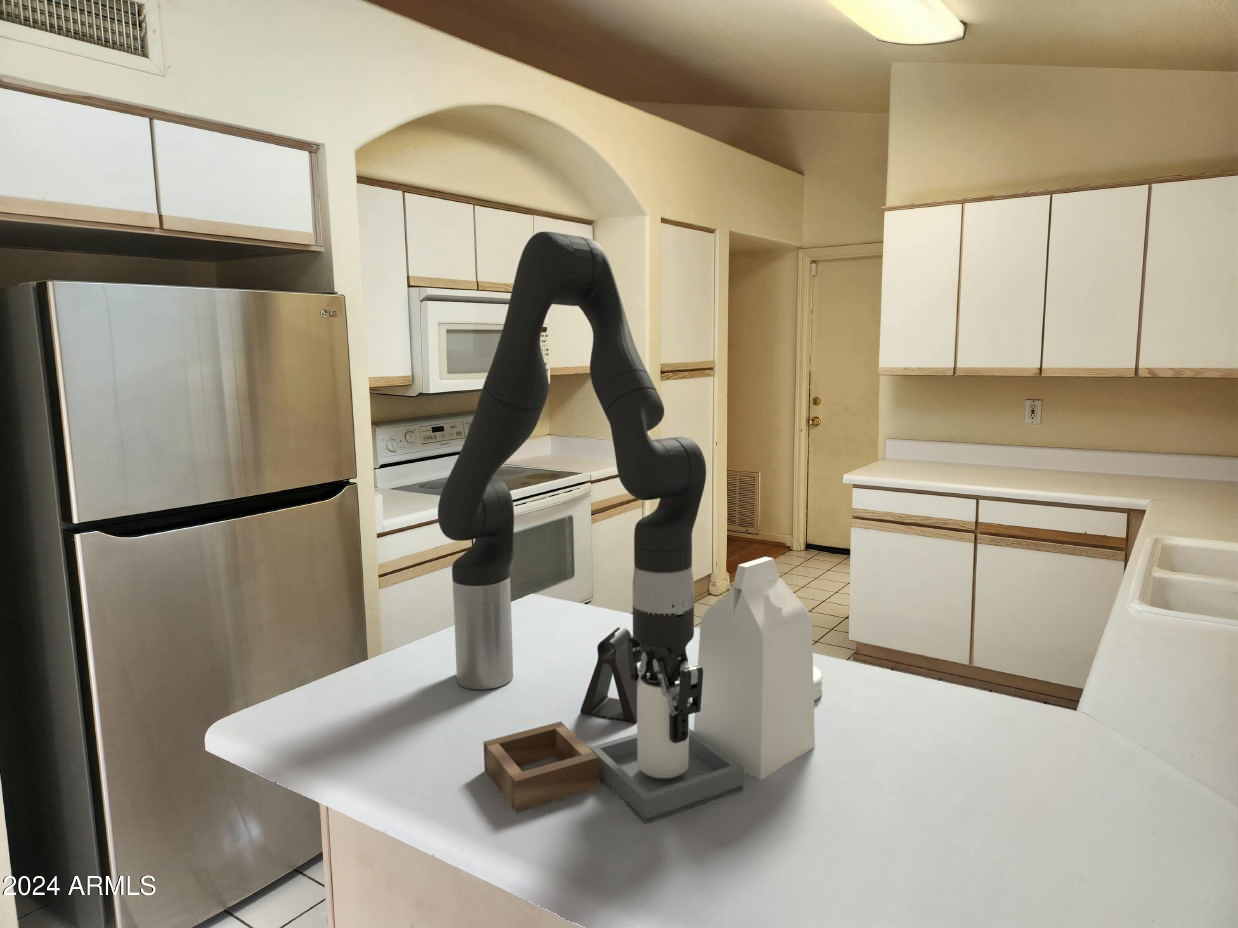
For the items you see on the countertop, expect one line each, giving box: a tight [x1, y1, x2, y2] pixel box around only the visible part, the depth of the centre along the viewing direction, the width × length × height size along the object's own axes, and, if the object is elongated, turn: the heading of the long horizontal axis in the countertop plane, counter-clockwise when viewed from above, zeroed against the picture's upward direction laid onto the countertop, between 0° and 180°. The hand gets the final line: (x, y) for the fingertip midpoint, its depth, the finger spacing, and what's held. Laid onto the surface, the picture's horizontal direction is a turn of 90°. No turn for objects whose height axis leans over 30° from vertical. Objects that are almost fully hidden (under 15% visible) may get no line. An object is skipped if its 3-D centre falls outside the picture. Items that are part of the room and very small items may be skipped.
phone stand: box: [579, 627, 639, 725], centre depth 120 cm, size 9×6×12 cm, turn 67°
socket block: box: [482, 720, 600, 814], centre depth 102 cm, size 11×11×4 cm
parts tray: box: [588, 727, 744, 824], centre depth 102 cm, size 14×14×3 cm
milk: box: [693, 556, 816, 780], centre depth 108 cm, size 12×12×26 cm
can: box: [636, 672, 690, 779], centre depth 101 cm, size 6×6×12 cm
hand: (663, 728), depth 101 cm, fingers closed on can, 6 cm apart
